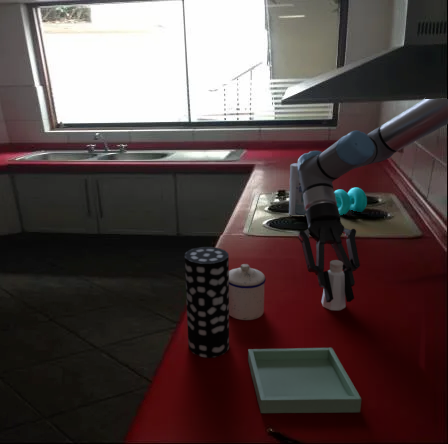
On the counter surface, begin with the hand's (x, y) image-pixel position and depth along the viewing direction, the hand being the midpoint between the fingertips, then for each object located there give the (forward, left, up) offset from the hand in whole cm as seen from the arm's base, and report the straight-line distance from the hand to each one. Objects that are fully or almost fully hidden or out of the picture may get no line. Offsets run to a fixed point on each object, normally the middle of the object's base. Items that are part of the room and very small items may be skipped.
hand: (340, 300), depth 93 cm
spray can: (-10, -75, -4) cm, 76 cm away
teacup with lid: (+22, -3, -4) cm, 22 cm away
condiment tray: (+15, +23, -3) cm, 28 cm away
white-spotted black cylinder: (+30, +11, -4) cm, 32 cm away
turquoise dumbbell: (-29, -74, -4) cm, 79 cm away
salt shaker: (0, -4, -4) cm, 5 cm away
